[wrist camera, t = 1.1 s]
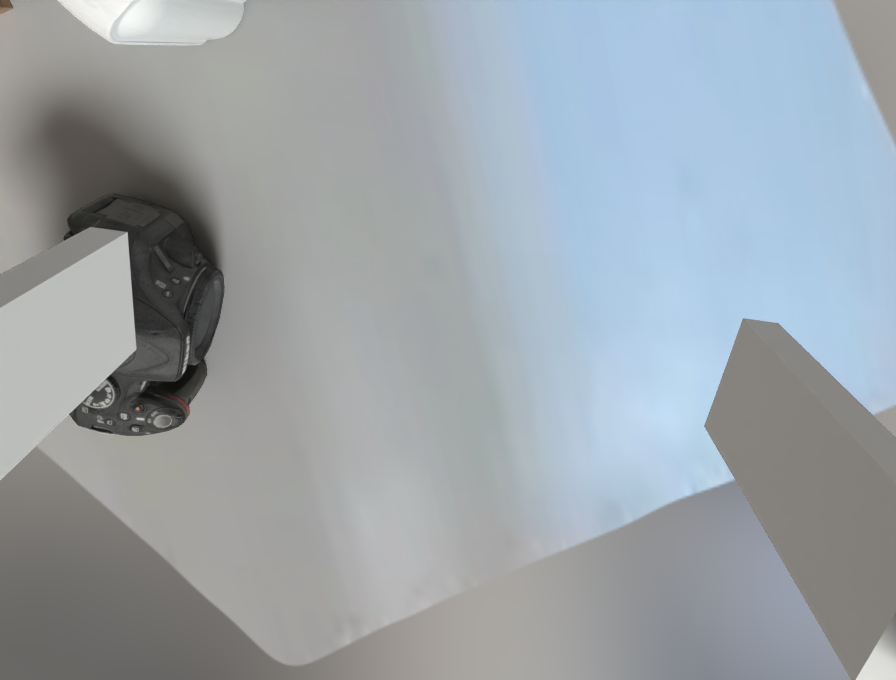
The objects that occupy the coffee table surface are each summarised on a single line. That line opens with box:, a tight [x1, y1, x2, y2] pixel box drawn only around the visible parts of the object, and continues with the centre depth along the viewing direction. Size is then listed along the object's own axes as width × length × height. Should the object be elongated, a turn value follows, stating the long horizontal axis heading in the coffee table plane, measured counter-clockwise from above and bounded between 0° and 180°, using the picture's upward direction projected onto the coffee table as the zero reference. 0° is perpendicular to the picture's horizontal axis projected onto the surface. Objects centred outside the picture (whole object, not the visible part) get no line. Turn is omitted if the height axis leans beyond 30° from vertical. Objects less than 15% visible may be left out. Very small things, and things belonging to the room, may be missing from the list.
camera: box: [64, 194, 224, 436], centre depth 37 cm, size 13×10×10 cm
